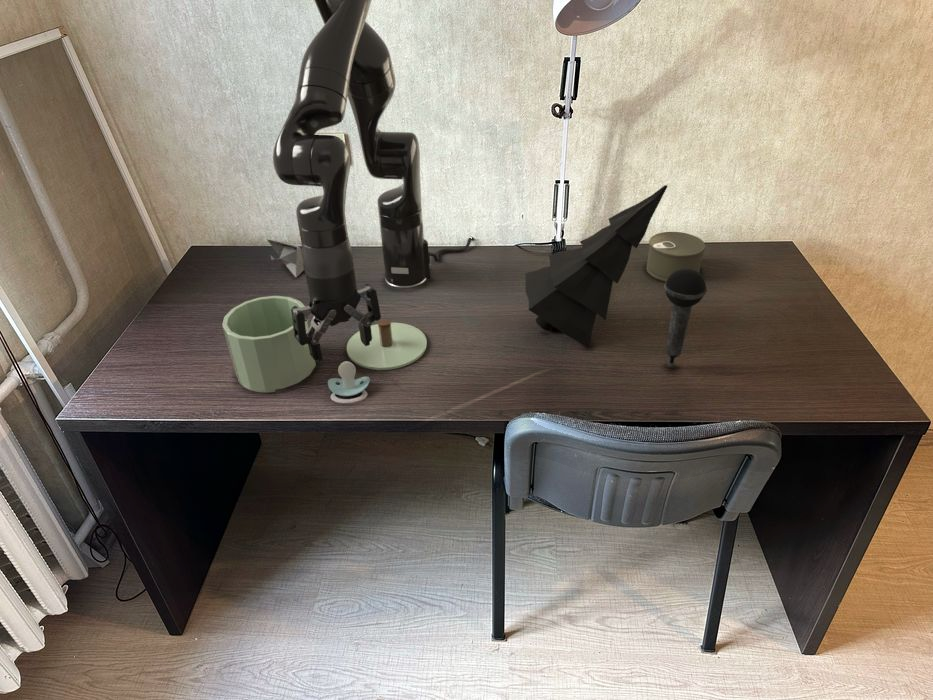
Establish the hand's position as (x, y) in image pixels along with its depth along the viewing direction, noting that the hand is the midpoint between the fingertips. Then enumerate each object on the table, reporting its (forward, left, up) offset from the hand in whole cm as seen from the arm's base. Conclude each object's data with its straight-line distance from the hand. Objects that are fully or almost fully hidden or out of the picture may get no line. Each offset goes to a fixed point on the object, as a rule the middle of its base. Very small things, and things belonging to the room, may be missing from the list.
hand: (342, 351), depth 113 cm
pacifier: (0, 0, -10) cm, 10 cm away
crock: (+8, -15, -9) cm, 20 cm away
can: (-80, 0, -10) cm, 81 cm away
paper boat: (-8, -53, -10) cm, 55 cm away
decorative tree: (-48, +7, -10) cm, 49 cm away
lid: (-12, -9, -9) cm, 18 cm away
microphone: (-52, +26, -10) cm, 59 cm away
